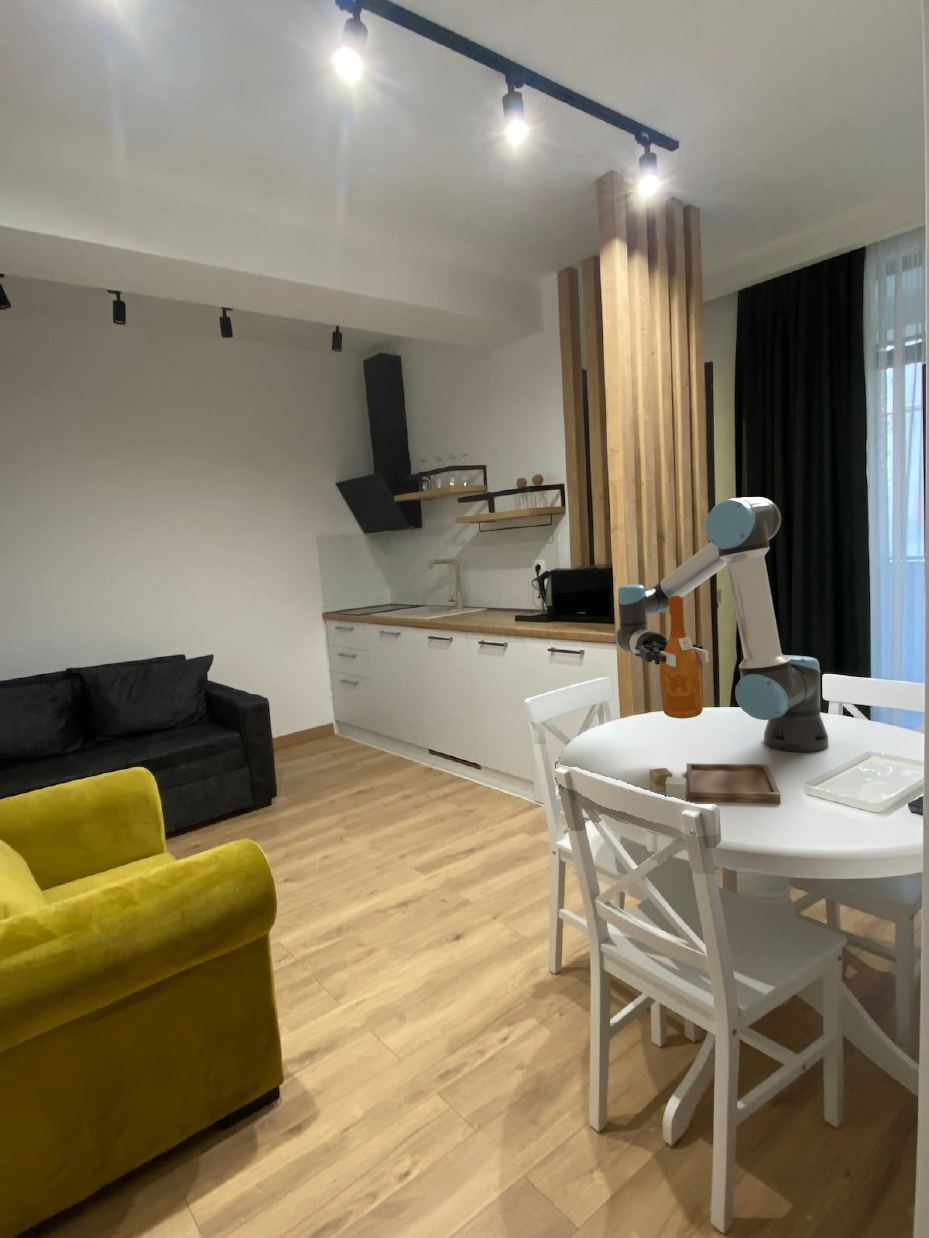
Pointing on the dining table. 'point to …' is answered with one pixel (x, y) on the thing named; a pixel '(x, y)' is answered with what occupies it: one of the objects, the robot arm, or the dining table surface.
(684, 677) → the wine bottle
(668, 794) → the pale grey cube
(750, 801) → the tray
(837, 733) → the dining table surface
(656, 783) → the oak block
